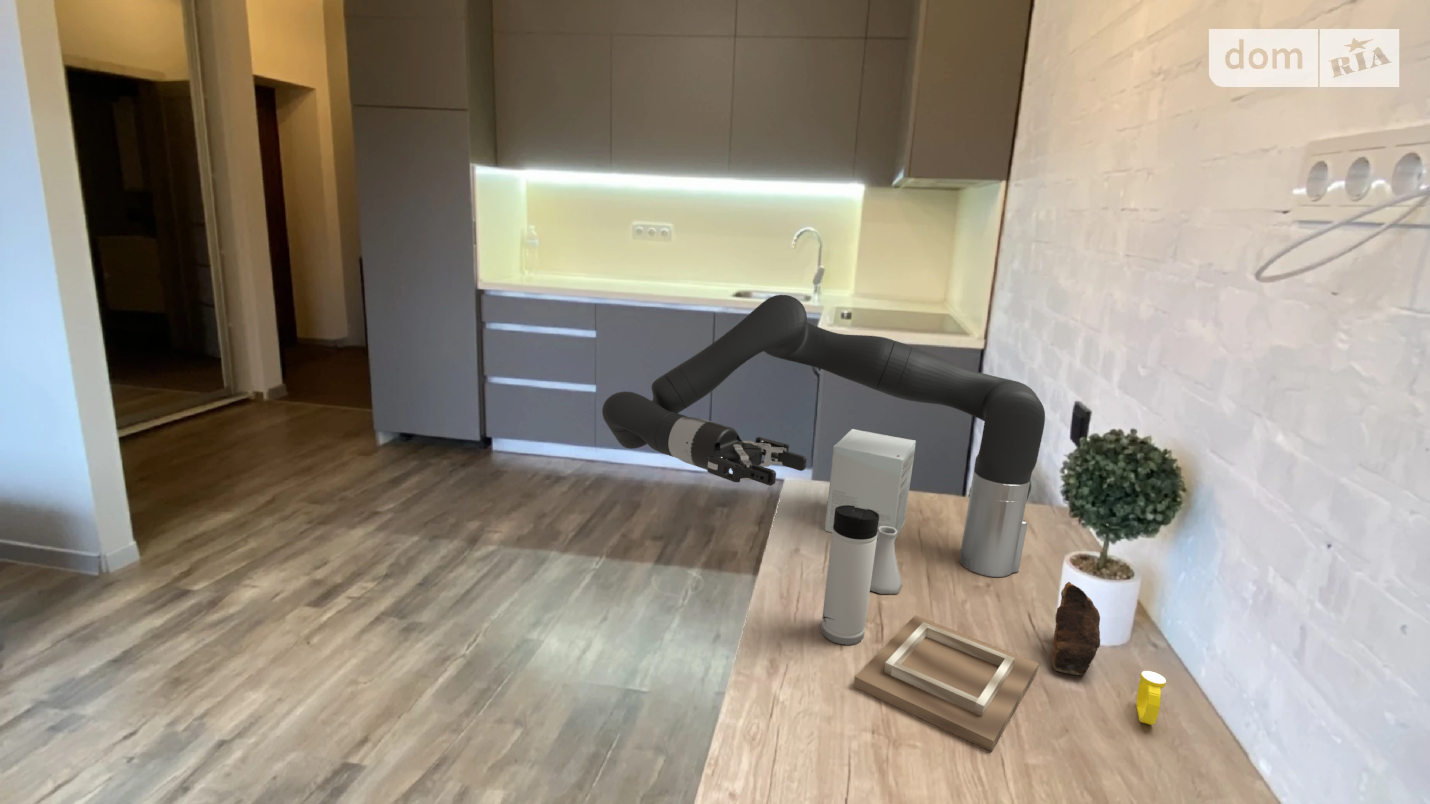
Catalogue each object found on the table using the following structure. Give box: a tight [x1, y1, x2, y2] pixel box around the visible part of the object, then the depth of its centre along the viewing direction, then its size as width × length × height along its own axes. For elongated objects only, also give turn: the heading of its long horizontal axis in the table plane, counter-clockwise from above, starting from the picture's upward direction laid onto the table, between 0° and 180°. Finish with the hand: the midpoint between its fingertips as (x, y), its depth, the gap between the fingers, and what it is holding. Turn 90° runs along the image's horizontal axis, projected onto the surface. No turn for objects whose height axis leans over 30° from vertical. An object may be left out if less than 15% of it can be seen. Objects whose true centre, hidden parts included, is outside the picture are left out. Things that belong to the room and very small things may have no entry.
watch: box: [1135, 670, 1167, 726], centre depth 95 cm, size 6×3×6 cm, turn 158°
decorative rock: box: [1051, 581, 1101, 677], centre depth 106 cm, size 12×6×11 cm, turn 152°
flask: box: [870, 526, 903, 595], centre depth 123 cm, size 7×7×10 cm
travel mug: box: [820, 505, 879, 646], centre depth 107 cm, size 6×7×20 cm
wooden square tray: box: [853, 614, 1040, 753], centre depth 100 cm, size 20×18×3 cm
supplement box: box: [824, 428, 917, 544], centre depth 144 cm, size 13×13×18 cm
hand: (790, 471), depth 110 cm, fingers open, 8 cm apart
